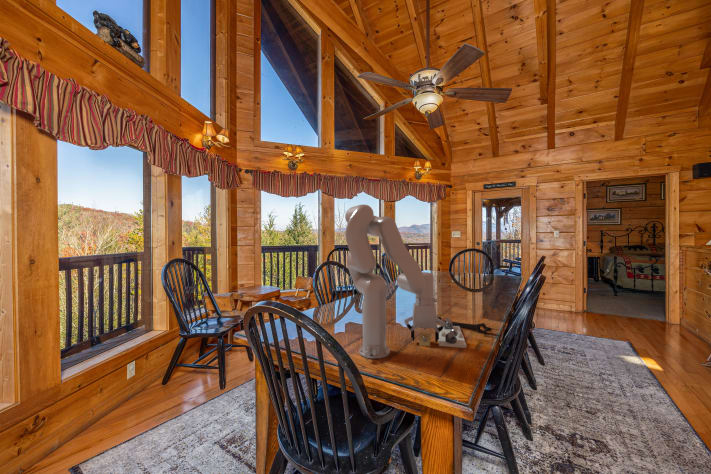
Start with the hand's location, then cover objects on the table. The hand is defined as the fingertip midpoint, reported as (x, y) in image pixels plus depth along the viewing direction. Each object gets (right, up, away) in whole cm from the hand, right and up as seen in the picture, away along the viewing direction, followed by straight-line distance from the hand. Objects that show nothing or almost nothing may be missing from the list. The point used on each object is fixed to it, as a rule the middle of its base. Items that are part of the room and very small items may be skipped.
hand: (424, 340), depth 125 cm
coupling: (0, -2, 0) cm, 2 cm away
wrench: (+24, -1, +21) cm, 32 cm away
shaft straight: (+15, 0, +16) cm, 22 cm away
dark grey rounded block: (+11, 0, -1) cm, 11 cm away
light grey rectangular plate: (+14, -1, +8) cm, 16 cm away
